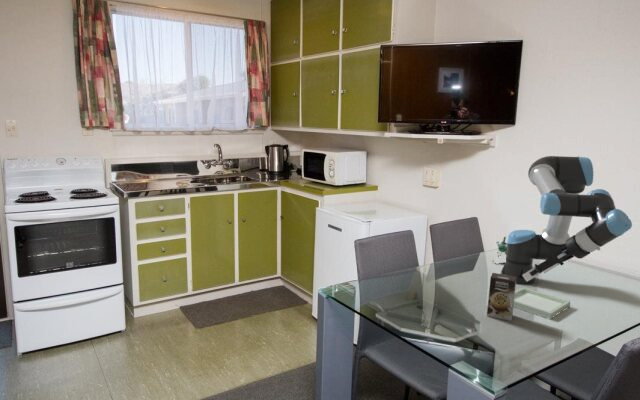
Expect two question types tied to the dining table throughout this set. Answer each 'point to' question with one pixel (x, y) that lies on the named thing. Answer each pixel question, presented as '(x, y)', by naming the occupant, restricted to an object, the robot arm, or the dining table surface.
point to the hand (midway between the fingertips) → (533, 274)
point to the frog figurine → (502, 247)
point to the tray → (539, 303)
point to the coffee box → (501, 296)
